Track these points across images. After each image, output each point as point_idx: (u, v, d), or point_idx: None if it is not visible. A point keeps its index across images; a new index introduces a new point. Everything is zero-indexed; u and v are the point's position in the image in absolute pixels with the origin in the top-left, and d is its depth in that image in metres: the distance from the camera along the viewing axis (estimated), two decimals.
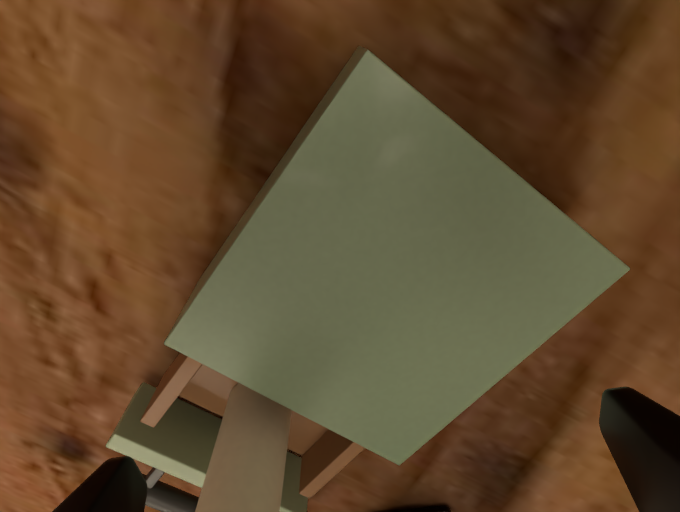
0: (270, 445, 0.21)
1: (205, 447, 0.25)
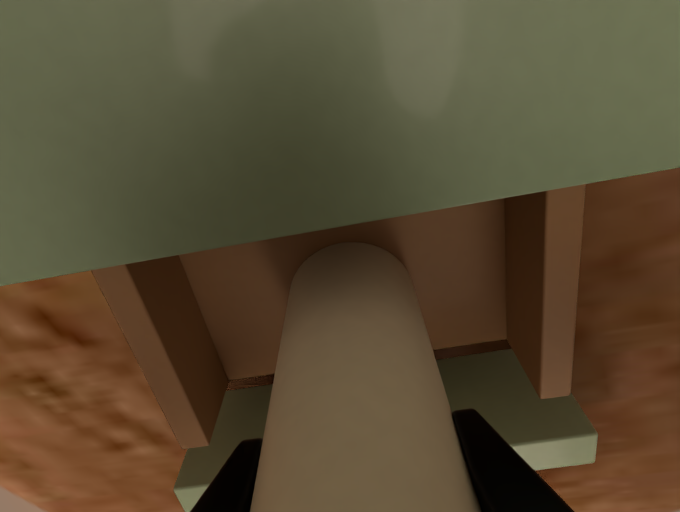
0: (350, 333, 0.08)
1: None
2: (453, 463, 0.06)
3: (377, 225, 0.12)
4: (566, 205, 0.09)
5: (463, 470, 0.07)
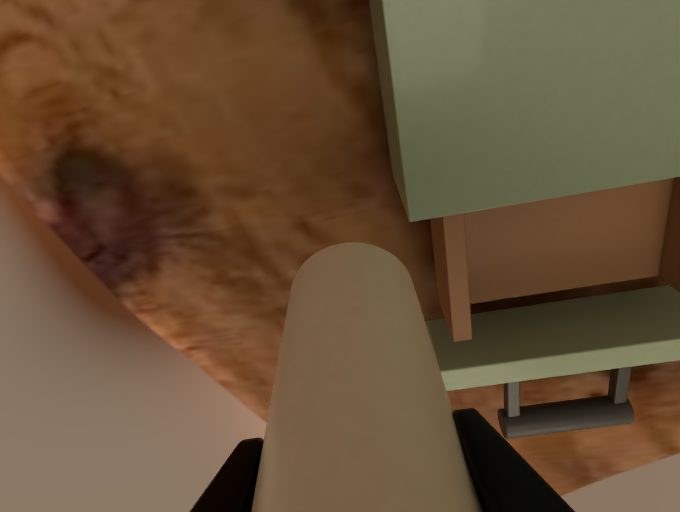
0: (352, 334, 0.08)
1: (540, 334, 0.20)
2: (455, 464, 0.06)
3: (587, 194, 0.18)
4: None
5: (465, 471, 0.06)
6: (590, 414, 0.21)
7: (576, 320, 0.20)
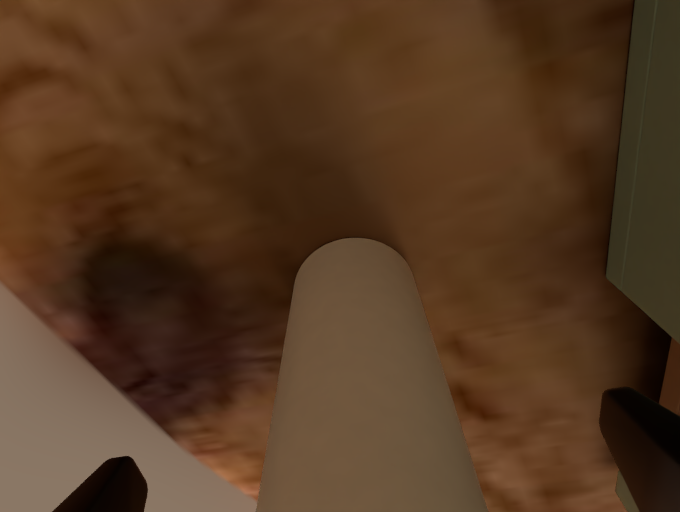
0: (354, 324, 0.09)
1: None
2: (454, 446, 0.07)
3: None
4: None
5: (464, 453, 0.07)
6: None
7: None
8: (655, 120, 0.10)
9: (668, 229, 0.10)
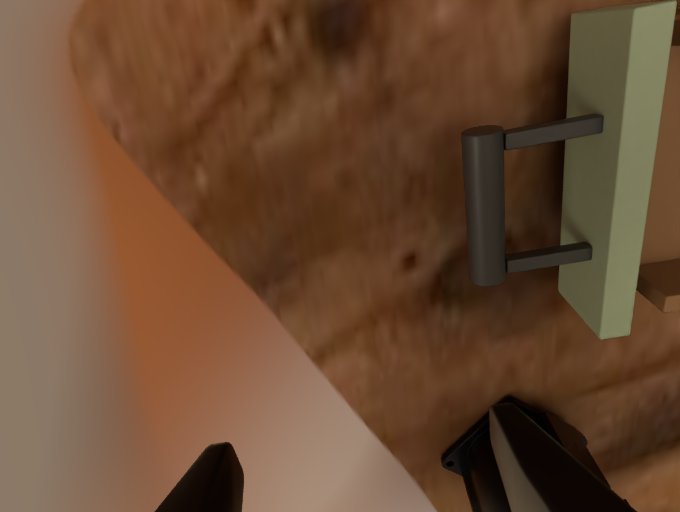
0: None
1: None
2: None
3: None
4: None
5: None
6: (502, 237, 0.16)
7: None
8: None
9: None
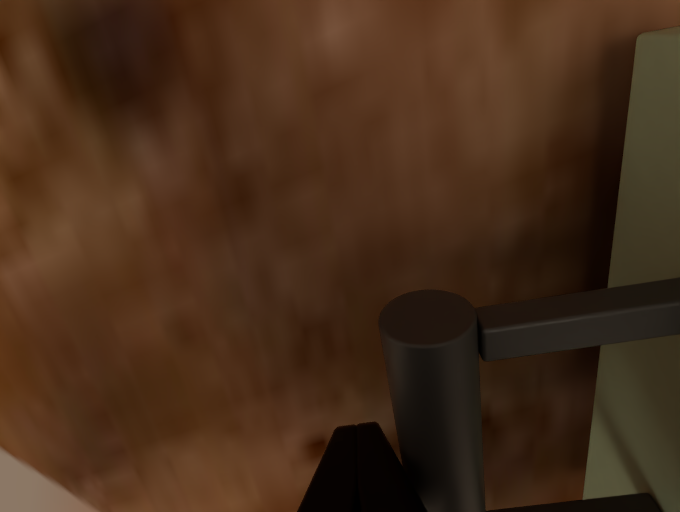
0: None
1: None
2: None
3: None
4: None
5: None
6: None
7: None
8: None
9: None
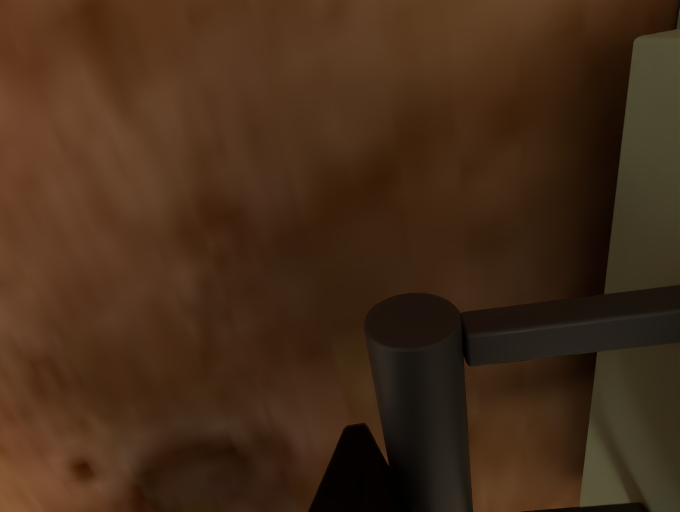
0: None
1: None
2: None
3: None
4: None
5: None
6: None
7: None
8: None
9: None
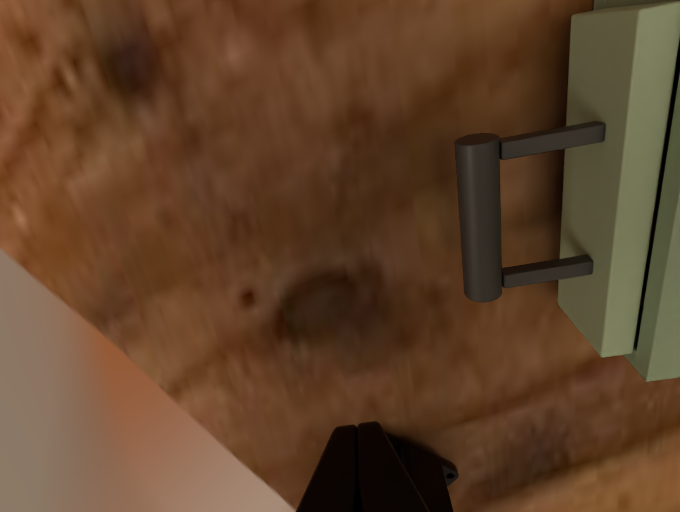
0: None
1: None
2: None
3: None
4: None
5: None
6: (498, 251, 0.16)
7: None
8: None
9: None
